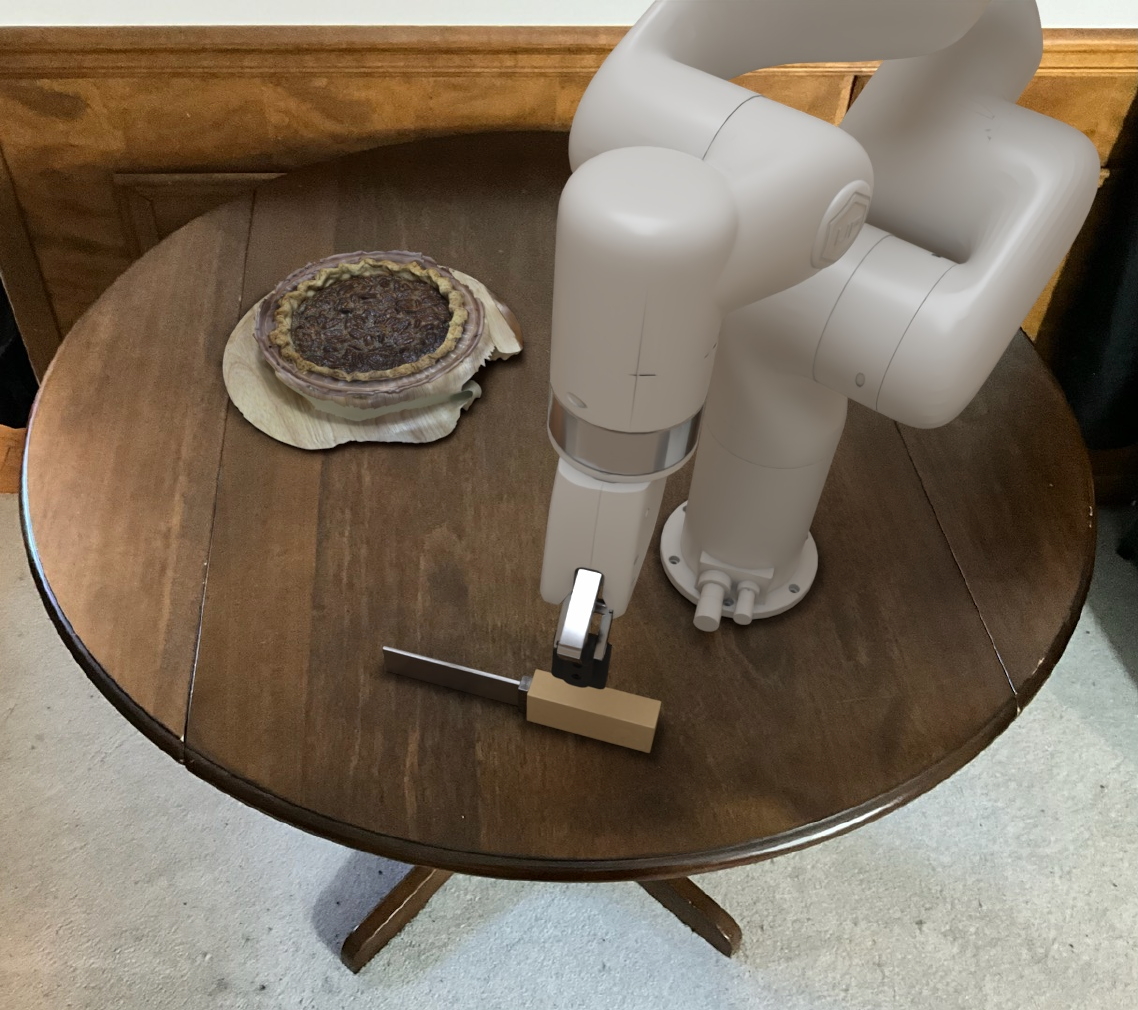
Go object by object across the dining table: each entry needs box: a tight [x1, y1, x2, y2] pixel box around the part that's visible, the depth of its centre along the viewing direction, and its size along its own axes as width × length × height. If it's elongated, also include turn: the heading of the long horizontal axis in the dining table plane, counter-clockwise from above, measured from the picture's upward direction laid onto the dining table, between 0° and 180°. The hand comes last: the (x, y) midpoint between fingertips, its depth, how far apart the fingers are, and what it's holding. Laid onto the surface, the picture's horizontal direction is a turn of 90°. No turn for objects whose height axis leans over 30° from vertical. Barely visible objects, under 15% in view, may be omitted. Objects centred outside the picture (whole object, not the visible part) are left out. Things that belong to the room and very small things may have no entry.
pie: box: [222, 249, 524, 450], centre depth 97 cm, size 28×27×5 cm
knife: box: [382, 645, 662, 754], centre depth 73 cm, size 20×2×4 cm, turn 75°
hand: (599, 613), depth 63 cm, fingers open, 9 cm apart
